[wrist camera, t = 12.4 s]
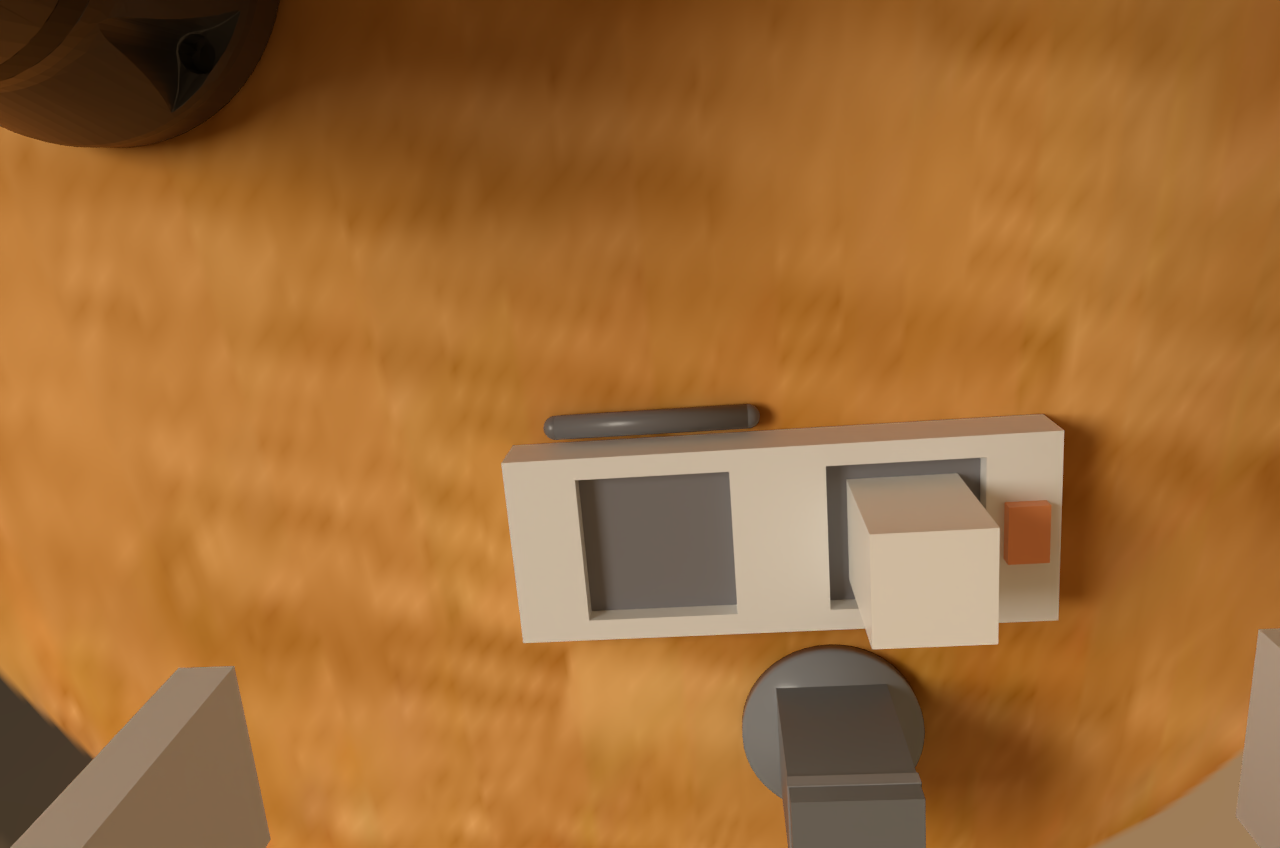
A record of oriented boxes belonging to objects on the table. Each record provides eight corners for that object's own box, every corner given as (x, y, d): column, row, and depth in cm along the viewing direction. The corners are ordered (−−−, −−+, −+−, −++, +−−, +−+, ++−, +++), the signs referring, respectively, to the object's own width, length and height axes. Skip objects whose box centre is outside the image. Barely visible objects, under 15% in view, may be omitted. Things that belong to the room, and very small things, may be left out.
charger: (774, 687, 44) (789, 801, 36) (888, 683, 43) (926, 797, 36) (779, 783, 45) (794, 914, 37) (889, 780, 45) (927, 911, 37)
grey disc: (746, 803, 46) (747, 814, 46) (737, 648, 44) (737, 657, 44) (921, 798, 46) (925, 809, 45) (920, 640, 44) (924, 649, 43)
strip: (533, 616, 45) (520, 649, 42) (509, 416, 42) (494, 436, 39) (1038, 593, 43) (1063, 627, 40) (1044, 382, 40) (1071, 401, 37)
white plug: (849, 579, 41) (872, 649, 36) (846, 479, 40) (869, 534, 34) (957, 574, 41) (997, 644, 35) (957, 473, 40) (999, 528, 34)
